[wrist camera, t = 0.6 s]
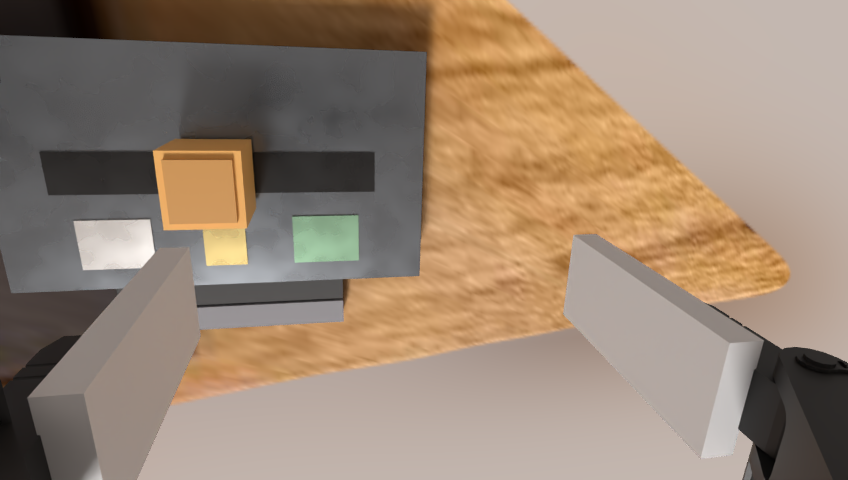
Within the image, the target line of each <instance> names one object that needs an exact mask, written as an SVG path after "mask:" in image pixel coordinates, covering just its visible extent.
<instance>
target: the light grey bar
mask: <svg viewBox="0 0 848 480" xmlns="http://www.w3.org/2000/svg"><path fill="white" fill-rule="evenodd" d="M197 312H198V320H199V328H200V330H202V329H220V328H237V327H255V326H272V325H290V324H307V323H324V322H342V321H344V318H343V298H331V299H311V300H290V301H270V302H249V303H229V304H209V305H197Z"/></svg>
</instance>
